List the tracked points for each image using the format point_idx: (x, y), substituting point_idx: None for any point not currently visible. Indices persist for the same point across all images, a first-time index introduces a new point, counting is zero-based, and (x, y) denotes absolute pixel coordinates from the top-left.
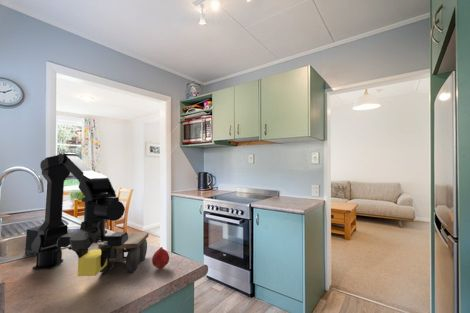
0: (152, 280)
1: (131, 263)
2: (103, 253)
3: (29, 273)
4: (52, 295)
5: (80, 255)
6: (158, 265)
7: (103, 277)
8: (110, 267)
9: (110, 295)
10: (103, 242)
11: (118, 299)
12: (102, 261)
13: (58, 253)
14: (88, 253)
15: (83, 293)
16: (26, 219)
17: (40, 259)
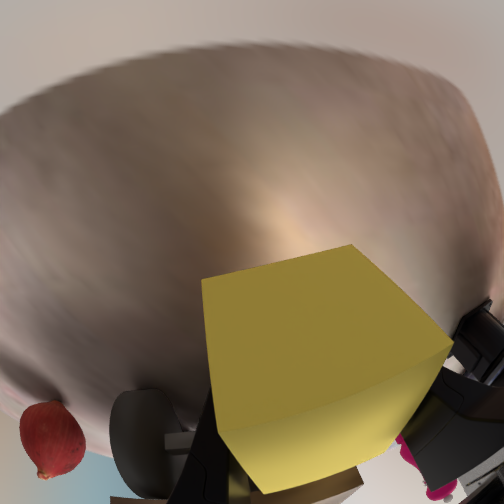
0: (14, 341)
1: (111, 420)
2: (197, 492)
3: (491, 281)
4: (395, 159)
5: (443, 388)
6: (33, 408)
7: None
8: None
9: (65, 201)
10: (343, 495)
11: (10, 182)
12: (210, 412)
13: (473, 360)
14: (389, 432)
15: (246, 188)
16: None
17: (496, 323)
